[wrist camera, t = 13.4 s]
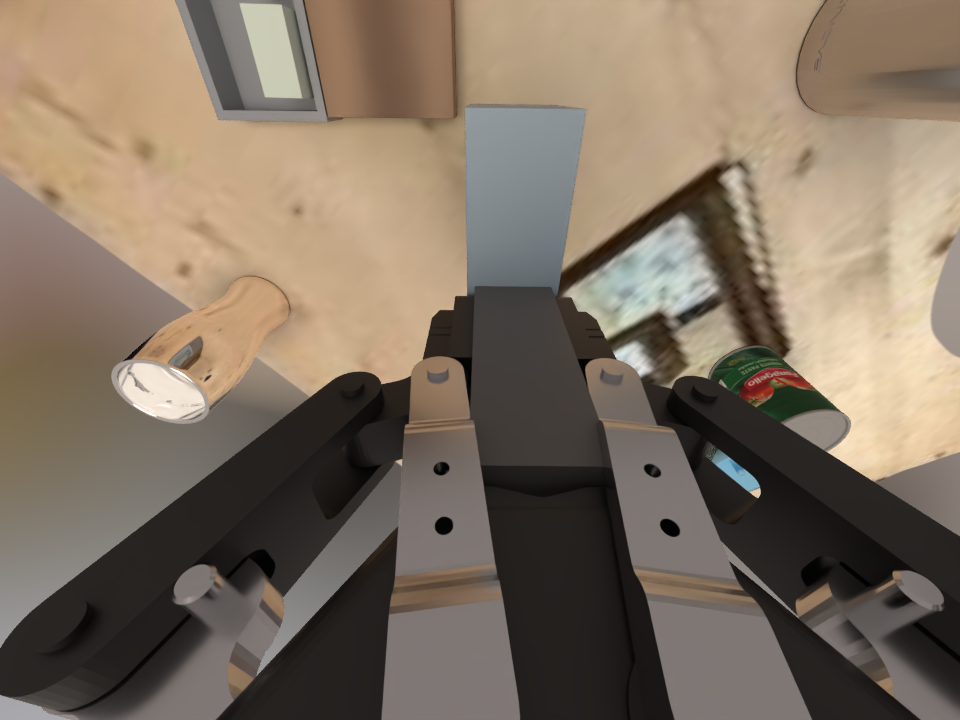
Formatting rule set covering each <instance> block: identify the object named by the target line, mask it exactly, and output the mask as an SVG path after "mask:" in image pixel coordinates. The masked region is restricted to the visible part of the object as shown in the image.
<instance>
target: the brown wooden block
mask: <svg viewBox="0 0 960 720" xmlns="http://www.w3.org/2000/svg"><path fill="white" fill-rule="evenodd" d="M304 1H305V6H306V10H307V15H308V20H309V25H310V30H311V35H312V40H313V45H314V50H315V54H316V59H317V64H318V69H319V74H320V79H321V84H322V89H323V93H324V98H325V103H326V108H327V113H328V117H373V118H455V117H456V116H457V104H456V63H455V21H454V0H304Z"/></svg>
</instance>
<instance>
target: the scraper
mask: <svg viewBox="0 0 960 720" xmlns="http://www.w3.org/2000/svg"><path fill="white" fill-rule="evenodd" d="M585 115H586V109H581V108H573V107H565V106H557V105H504V104H470V105H468V106H467V107H465V145H466V225H467V296H475V297H474V324H473V351H472V378H471V405H470V419H473V421H474V425H475V432H476V439H477V445H478V452H479V459H480V465H481V472H482V479H483V485H484V486H495V487H499V488H503V489H507V490H511V491H515V492H519V493H523V494H527V495H532V496H536V497H549V496H553V495H557V494H561V493H565V492H569V491H573V490H577V489H581V488H586V487H605V483H604V479H603V476H602V474H601V472H602V469H603V462H602V456H601V450H600V445H599V439H598V433H597V428H596V423H597V422H598V421H599V418H598V415H597V412H596V409H595V407H594V404H593V401H592V398H591V396H590V393H589V390H588V387H587V385H586V382H585V379H584V376H583V374H582V371H581V368H580V365H579V363H578V360H577V357H576V354H575V351H574V349H573V346H572V343H571V340H570V338H569V335H568V332H567V329H566V327H565V324H564V321H563V318H562V316H561V313H560V310H559V307H558V305H557V302H556V299H555V297H557V295H558V288H559V282H560V275H561V269H562V263H563V256H564V250H565V243H566V237H567V231H568V224H569V218H570V211H571V205H572V199H573V192H574V186H575V179H576V173H577V167H578V160H579V154H580V147H581V141H582V135H583V128H584V122H585Z"/></svg>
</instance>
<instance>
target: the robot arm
mask: <svg viewBox="0 0 960 720" xmlns="http://www.w3.org/2000/svg"><path fill="white" fill-rule="evenodd" d="M797 73H798V87H799V91H800V94H801V97H802V98H803V100H804V101H805V103H806V104H807V106H809V107H810V108H812V109H813V110H814V111H816V112H820V113H823V114H829V115H849V116H867V117H880V118H899V119H918V120H937V121H956V122H960V0H827V1H826V3H825V4H824V6H823V7H822V9H821V10H820V12H819V13H818V15H817V16H816V18H815V20H814V22H813V24H812V26H811V28H810V30H809V32H808V34H807V36H806V38H805V41H804V44H803V47H802V50H801V53H800V58H799V64H798V70H797ZM474 297H475V296H455V303H454V310H440V311H439V312H438V313H437V314H436V315H435V316H434V317H433V318H432V321H431V325H430V330H429V336H428V339H427V343H426V348H425V352H424V357H423V360H422V361H420V362H419V363H417V364H416V365H415V366H414V368H413V370H412V373H411V376H410V377H408V378H406V379H403V380H400V381H396V382H391V383H386V384H381V382H380V380H379V378H378V377H377V376H375V375H373V374H371V373H368V372H351V373H347V374H344V375H341V376H339V377H337V378H335V379H334V380H332V381H331V382H330V383H328V384H327V385H326V386H324V387H323V388H322V389H320V390H319V391H318V392H317V393H315V394H314V395H313V396H311V397H310V398H309V399H307V400H306V401H305V402H304V403H302V404H301V405H300V406H298V407H297V408H296V409H294V410H293V411H292V412H291V413H289V414H288V415H286V416H285V417H284V418H283V419H281V420H280V421H279V422H277V423H276V424H275V425H274V426H272V427H271V428H269V429H268V430H267V431H266V432H264V433H263V434H262V435H260V436H259V437H258V438H256V439H255V440H254V441H252V442H251V443H250V444H249V445H247V446H246V447H245V448H243V449H242V450H241V451H240V452H238V453H237V454H235V455H234V456H233V457H232V458H230V459H229V460H228V461H227V462H225V463H224V464H223V465H221V466H220V467H218V468H217V469H216V470H215V471H213V472H212V473H211V474H209V475H208V476H207V477H205V478H204V479H203V480H201V481H200V482H199V483H198V484H196V485H195V486H194V487H192V488H191V489H190V490H189V491H187V492H186V493H184V494H183V495H182V496H181V497H179V498H178V499H177V500H175V501H174V502H173V503H172V504H170V505H169V506H168V507H166V508H165V509H164V510H162V511H161V512H160V513H158V514H157V515H156V516H155V517H153V518H152V519H151V520H149V521H148V522H147V523H145V524H144V525H143V526H141V527H140V528H139V529H138V530H136V531H135V532H134V533H132V534H131V535H130V536H128V537H127V538H126V539H124V540H123V541H122V542H120V543H119V544H118V545H117V546H115V547H114V548H113V549H111V550H110V551H109V552H107V553H106V554H105V555H103V556H102V557H101V558H100V559H98V560H97V561H96V562H94V563H93V564H92V565H90V566H89V567H88V568H86V569H85V570H84V571H83V572H81V573H80V574H79V575H78V576H76V577H75V578H74V579H72V580H71V581H69V582H68V583H67V584H66V585H64V586H63V587H62V588H60V589H59V590H58V591H56V592H55V593H54V594H52V595H51V596H50V597H49V598H47V599H46V600H45V601H44V602H42V603H41V604H40V605H39V606H37V607H36V608H35V609H34V610H32V611H31V612H30V613H29V614H28V615H27V616H26V617H25V618H24V619H23V620H22V621H21V622H20V623H19V624H18V625H17V626H16V628H15V629H14V630H13V631H12V633H11V634H10V635H9V636H8V638H7V639H6V640H5V642H4V643H3V645H2V647H1V648H0V695H2V696H6V697H9V698H13V699H16V700H20V701H23V702H27V703H30V704H34V705H37V706H41V707H42V708H43V710H45V711H47V712H48V713H50V714H53V715H57V716H60V717H64V718H68V719H71V720H960V536H958V535H956V534H955V533H953V532H952V531H950V530H949V529H947V528H945V527H944V526H942V525H941V524H939V523H938V522H936V521H934V520H933V519H931V518H930V517H928V516H927V515H925V514H923V513H922V512H920V511H919V510H917V509H916V508H914V507H912V506H911V505H909V504H908V503H906V502H905V501H903V500H901V499H900V498H898V497H897V496H895V495H894V494H892V493H890V492H889V491H887V490H886V489H884V488H882V487H881V486H879V485H878V484H876V483H875V482H873V481H871V480H870V479H868V478H867V477H865V476H864V475H862V474H860V473H859V472H857V471H856V470H854V469H853V468H851V467H849V466H848V465H846V464H845V463H843V462H842V461H840V460H838V459H837V458H835V457H834V456H832V455H831V454H829V453H827V452H826V451H824V450H823V449H821V448H820V447H818V446H816V445H815V444H813V443H812V442H810V441H809V440H807V439H805V438H804V437H802V436H801V435H799V434H798V433H796V432H794V431H793V430H791V429H790V428H788V427H787V426H785V425H783V424H782V423H780V422H779V421H777V420H775V419H774V418H772V417H771V416H769V415H768V414H766V413H764V412H763V411H761V410H760V409H758V408H757V407H755V406H753V405H752V404H750V403H749V402H747V401H746V400H744V399H742V398H741V397H739V396H738V395H736V394H735V393H733V392H731V391H730V390H728V389H727V388H725V387H724V386H722V385H720V384H718V383H716V382H714V381H712V380H709V379H706V378H703V377H698V376H684V377H681V378H679V379H677V380H676V381H675V383H674V385H673V387H672V389H670V388H666V387H661V386H657V385H652V384H648V383H645V382H642V381H641V380H640V377H639V375H638V373H637V372H636V370H635V369H634V368H632V367H631V366H630V365H628V364H626V363H624V362H622V361H619V360H617V359H616V357H615V355H614V353H613V352H612V350H611V348H610V346H609V344H608V342H607V340H606V338H604V337H605V336H604V334H603V332H602V331H601V328H600V326H599V324H598V322H597V320H596V319H595V318H593V317H592V316H591V315H589V314H588V313H587V312H578V311H577V309H576V307H575V305H574V302H573V300H572V298H570V297H555V299H556V302H557V305H558V307H559V310H560V313H561V316H562V318H563V321H564V324H565V327H566V329H567V332H568V335H569V338H570V340H571V343H572V346H573V349H574V351H575V354H576V357H577V360H578V363H579V365H580V368H581V371H582V374H583V376H584V379H585V382H586V385H587V387H588V390H589V393H590V396H591V398H592V401H593V404H594V407H595V409H596V412H597V415H598V418H599V421H598V422H597V423H596V428H597V433H598V439H599V445H600V450H601V456H602V462H603V469H602V472H601V474H602V476H603V479H604V483H605V487H586V488H581V489H577V490H573V491H569V492H565V493H561V494H557V495H553V496H549V497H536V496H532V495H527V494H523V493H519V492H515V491H511V490H507V489H503V488H499V487H495V486H484V485H483V479H482V472H481V465H480V459H479V452H478V445H477V439H476V432H475V425H474V421H473V419H470V405H471V378H472V351H473V324H474ZM712 445H714V446H715V447H716V448H718V449H719V450H720V451H721V452H723V453H724V454H725V455H727V456H728V457H729V458H730V459H732V460H733V461H734V462H736V463H737V464H738V465H739V466H741V467H742V468H743V469H745V470H746V471H747V472H748V473H750V474H751V475H752V476H753V477H754V478H755V479H756V480H757V482H758V484H759V486H760V489H761V494H760V497H759V498H756V497H755V496H753V495H752V494H751V493H749V492H748V491H747V490H746V489H745V488H743V487H742V486H741V485H740V484H738V483H737V482H736V481H735V480H734V479H732V478H731V477H730V476H729V475H727V474H726V473H725V472H724V471H723V470H721V469H720V468H719V467H718V466H716V465H715V464H714V463H713V462H712V461H710V460H709V459H708V458H707V457H705V456H706V454H707V453H708V451H709V449H710V448H711V446H712ZM400 459H402V475H401V493H400V507H399V524H398V527H397V528H396V529H395V530H394V531H393V532H392V533H391V534H390V535H389V536H388V537H387V538H386V539H385V540H384V541H383V542H382V544H381V545H380V546H379V547H378V548H377V549H376V550H375V551H374V552H373V553H372V554H371V555H370V556H369V557H368V559H366V561H365V562H364V563H363V564H362V565H361V566H360V567H359V568H358V569H357V570H356V571H355V572H354V573H353V575H351V576H350V578H349V579H348V580H347V581H346V582H345V583H344V584H343V585H342V586H341V587H340V588H339V589H338V590H337V591H336V592H335V593H334V595H333V596H332V597H331V598H330V599H329V600H328V601H327V602H326V603H325V604H324V605H323V606H322V607H321V608H320V609H319V611H318V612H317V613H316V614H315V615H314V616H313V617H312V618H311V619H310V620H309V621H308V622H307V623H306V624H305V626H303V628H302V629H301V630H300V631H299V632H298V633H297V634H296V635H295V636H294V637H293V638H292V639H291V641H289V643H288V644H287V645H286V646H285V647H284V648H283V649H282V650H281V651H280V652H279V653H278V654H277V655H276V656H275V657H274V658H273V659H272V660H271V661H270V663H269V664H268V665H267V666H266V667H265V668H264V669H263V670H262V671H261V672H260V673H259V674H258V675H257V671H258V668H259V666H260V663H261V660H262V658H263V656H264V654H265V652H266V651H267V650H268V649H269V647H270V646H271V644H272V643H273V640H274V638H275V637H276V635H277V633H278V631H279V629H280V626H281V624H282V621H283V616H284V608H285V607H284V599H283V597H284V596H285V594H286V593H287V592H288V591H289V589H290V588H291V587H292V586H293V585H294V584H295V583H296V581H297V580H298V579H299V578H300V577H301V575H302V574H303V573H304V572H305V570H306V569H307V568H308V567H309V566H310V565H311V563H312V562H313V561H314V560H315V558H316V557H317V556H318V555H319V554H320V552H321V551H322V550H323V549H324V548H325V547H326V545H327V544H328V543H329V542H330V541H331V539H332V538H333V537H334V536H335V535H336V533H337V532H338V531H339V530H340V529H341V527H342V526H343V525H344V524H345V523H346V522H347V520H348V519H349V518H350V517H351V515H352V514H353V513H354V512H355V511H356V509H357V508H358V507H359V506H360V505H361V504H362V502H363V501H364V500H365V499H366V498H367V496H368V495H369V494H370V493H371V492H372V490H373V489H374V488H375V487H376V486H377V484H378V483H379V482H380V481H381V480H382V478H383V477H384V476H385V475H386V474H387V472H388V471H389V470H390V469H391V468H392V466H393V465H394V462H395V461H396V460H400ZM720 540H721V541H722V542H723V543H724V544H725V545H726V546H727V547H728V548H729V549H730V550H731V551H732V552H733V553H734V554H735V555H736V556H737V557H738V558H739V559H740V560H741V561H742V562H743V563H744V564H745V565H746V566H747V567H748V568H749V569H750V570H751V571H752V572H753V573H754V574H755V575H756V576H758V577H759V579H761V580H762V581H763V582H764V583H765V584H766V585H767V586H768V587H769V588H770V589H771V590H772V591H773V592H774V593H775V594H776V595H777V596H778V597H779V598H780V599H781V600H782V601H783V602H784V603H785V604H786V605H787V606H788V607H789V608H790V609H791V610H792V611H793V612H794V613H795V614H797V616H798V618H799V619H798V618H797V617H796V616H795V615H793V614H792V613H791V612H790V611H789V610H788V609H786V608H785V607H784V606H783V605H782V604H780V603H779V602H778V601H777V600H776V599H774V598H773V597H772V596H771V595H769V594H768V593H767V592H766V591H765V590H763V589H762V588H761V587H760V586H758V585H757V584H756V583H755V582H754V581H753V580H751V579H750V578H749V577H748V576H746V575H745V574H744V573H743V572H742V571H740V570H739V569H738V568H737V567H736V566H734V565H733V564H732V563H731V562H730V561H729V560H728V558H727V555H726V553H725V550H724V548H723V545H722V543H721V541H720ZM256 675H257V676H256Z"/></svg>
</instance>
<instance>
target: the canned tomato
mask: <svg viewBox="0 0 960 720" xmlns="http://www.w3.org/2000/svg"><path fill="white" fill-rule="evenodd" d="M708 379H709V380H712V381H714V382H716V383H718V384H720V385H722V386H724V387H725V388H727V389H728V390H730V391H731V392H733V393H735V394H736V395H738V396H739V397H741V398H742V399H744V400H746V401H747V402H749V403H750V404H752V405H753V406H755V407H757V408H758V409H760V410H761V411H763V412H764V413H766V414H768V415H769V416H771V417H772V418H774V419H775V420H777V421H779V422H780V423H782V424H783V425H785V426H787V427H788V428H790V429H791V430H793V431H794V432H796V433H798V434H799V435H801V436H802V437H804V438H805V439H807V440H809V441H810V442H812V443H813V444H815V445H816V446H818V447H820V448H821V449H823V450H824V451H826V452H827V451H829V450H831V449H832V448H834V447H835V446H837V445H838V444H839V443H840V442H841V441H842V440H843V439H844V438H845V437H846V436H847V434H848V433H849V430H850V427H851V421H850V420H849V418H848V417H847V416H846V415H845V414H844V413H842V412H841V411H840V410H838V409H837V408H836V407H835V406H834V405H833V404H832V403H831V402H830V401H828V399H827V398H825V397H824V396H823V395H822V394H821V393H820V392H819V391H817V390H816V389H815V388H814V387H813V386H812V385H810V383H808V382H807V381H806V380H805V379H804V378H803V377H802V376H800V375H799V374H798V373H797V372H796V371H795V370H794V369H793V368H791V367H790V366H789V365H788V364H787V363H786V362H785V361H784V360H782V359H781V358H780V357H779V356H777V355H776V353H775V352H774V351H773V350H772V349H770V348H768V347H765V346H760V345H753V346H746V347H743V348H739V349H737V350H734V351H732V352H730V353H729V354H727V355H725V356H724V357H723V358H721V359H720V360H719V361H718V362H717V363H716V364H715V365H714V367H713V368H712V370H711V372H710V374H709V377H708Z"/></svg>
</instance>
